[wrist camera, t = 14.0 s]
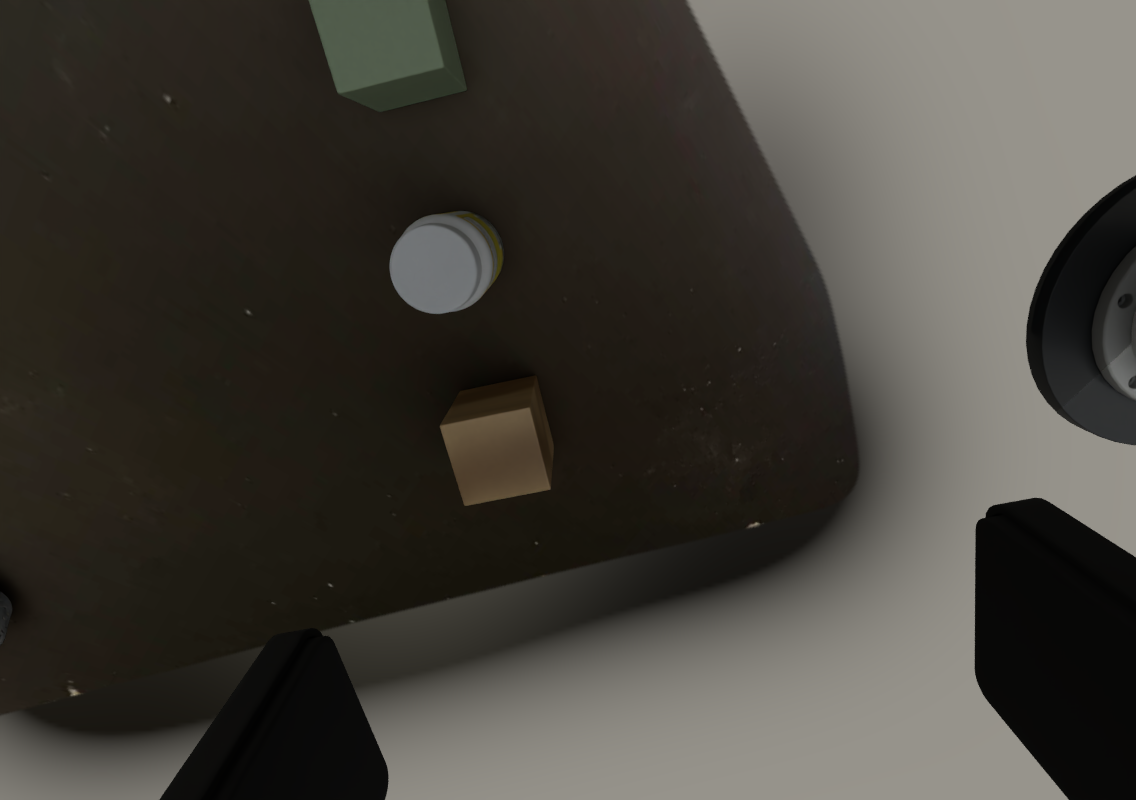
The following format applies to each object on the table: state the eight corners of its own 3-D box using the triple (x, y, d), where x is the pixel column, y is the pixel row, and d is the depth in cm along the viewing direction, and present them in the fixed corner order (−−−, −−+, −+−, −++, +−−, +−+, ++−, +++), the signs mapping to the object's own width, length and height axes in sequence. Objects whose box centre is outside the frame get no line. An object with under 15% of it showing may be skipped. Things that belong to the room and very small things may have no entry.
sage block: (348, 8, 30) (296, -36, 25) (441, -17, 30) (410, -67, 24) (379, 112, 32) (337, 94, 26) (467, 90, 32) (444, 67, 26)
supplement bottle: (420, 285, 35) (374, 312, 27) (427, 203, 33) (382, 205, 25) (499, 300, 35) (478, 330, 27) (511, 218, 34) (491, 226, 26)
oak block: (459, 390, 37) (439, 425, 31) (536, 374, 37) (529, 407, 31) (480, 461, 39) (464, 506, 33) (554, 446, 38) (550, 490, 33)
